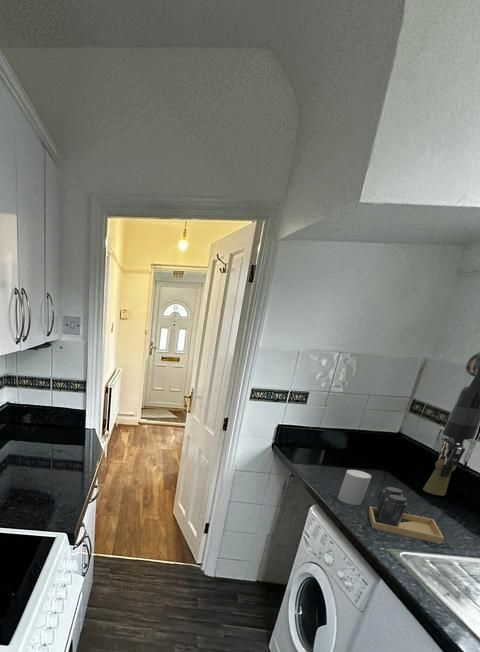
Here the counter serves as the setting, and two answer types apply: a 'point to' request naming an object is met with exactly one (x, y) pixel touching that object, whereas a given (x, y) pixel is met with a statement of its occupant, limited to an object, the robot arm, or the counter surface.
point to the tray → (411, 527)
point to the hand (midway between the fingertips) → (441, 473)
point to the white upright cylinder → (354, 487)
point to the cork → (438, 480)
